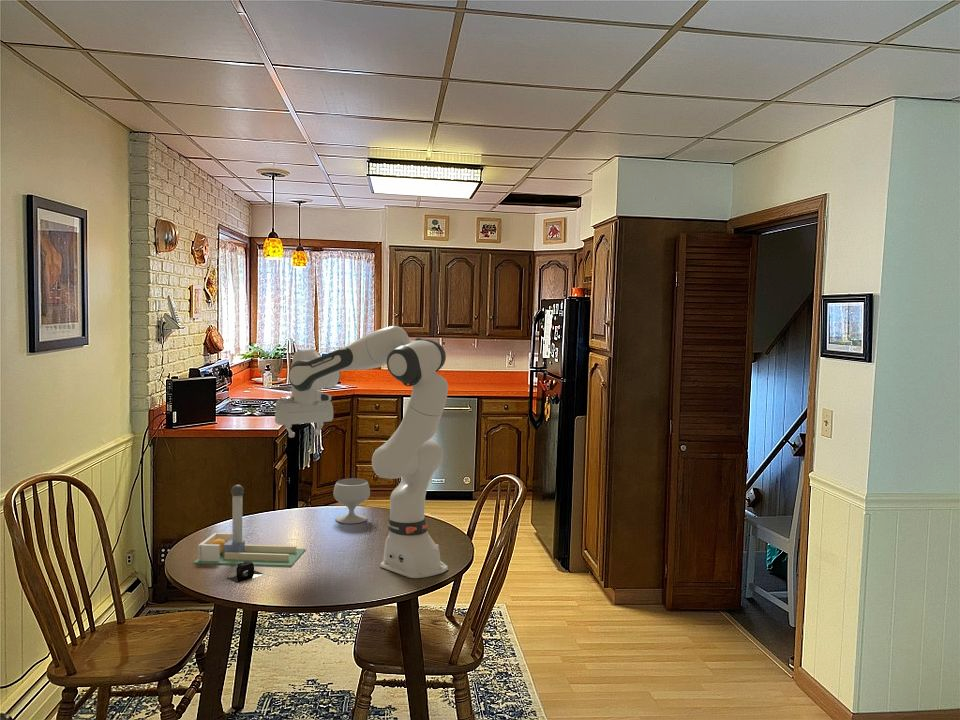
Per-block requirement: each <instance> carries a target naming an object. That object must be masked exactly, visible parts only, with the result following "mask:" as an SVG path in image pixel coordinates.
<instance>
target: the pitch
mask: <svg viewBox="0 0 960 720" xmlns="http://www.w3.org/2000/svg"><path fill="white" fill-rule="evenodd" d="M305 551H306V548H296V553H277V552H246V551H244V552H243V553H270V554H289V561H262V560H231V559H224V553H222V554H220V561H198V558H197V559H195V560H194V561H193V562H192V564H193V565H194V564H195V565H217V564H222V565H223V566H237V564H238V563H243V562H245V561H250V562H252V563H253V565H254V567H283V568H288V567H289V568H292V567H293V566H294V565H295V564H296V563H297V561H298V560H299V558H300V557H301V556H302V555H303V554H304V553H305ZM303 552H304V553H303ZM302 553H303V554H302ZM222 565H221V566H222Z"/></svg>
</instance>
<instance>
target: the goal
mask: <svg viewBox="0 0 960 720" xmlns="http://www.w3.org/2000/svg"><path fill="white" fill-rule="evenodd" d="M216 539H223V540H224V541H225V542H228V541H229V540H232V532H214V533H213V534H211V535H210V536H208V538H206V539H204V540H203V541H201V542H200V543H199V544H198V547H197V548H198V551H197V552H198V553H197V554H198V558H197V559H198V561H220V545H214V544H211V543H212V542H213V541H214V540H216ZM296 549H298V547H297V546H296V545H273V544H272V545H271V544H268V545H267V544H245V551H246V552H277V553H296ZM224 559H231V560H262V561H289V554H270V553H239V552H225V553H224Z"/></svg>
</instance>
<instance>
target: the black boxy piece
mask: <svg viewBox="0 0 960 720" xmlns="http://www.w3.org/2000/svg"><path fill="white" fill-rule="evenodd" d="M235 570H236V573H235V574H236V575H233V576H230V577H227V578H226V580H229V581H231V582H234V583H236V584H238V583H242V582H245V581H248V580H251V579H254V578H257V577H260V576H263V574H264V573H262V572H260V573H259V571H257V572H256V570H255V566H254V565H253V563H252V562H250V561H245V562H243V563H238V564H237V565H236V569H235Z"/></svg>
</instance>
